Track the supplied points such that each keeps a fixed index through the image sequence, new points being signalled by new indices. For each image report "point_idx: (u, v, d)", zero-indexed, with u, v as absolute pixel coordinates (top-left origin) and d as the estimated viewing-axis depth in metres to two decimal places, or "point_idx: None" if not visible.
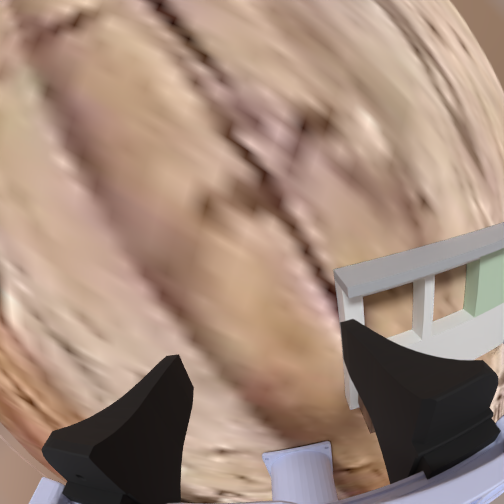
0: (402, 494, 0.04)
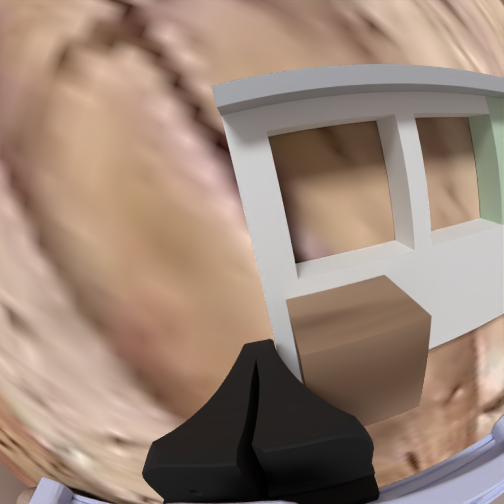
0: (402, 494, 0.04)
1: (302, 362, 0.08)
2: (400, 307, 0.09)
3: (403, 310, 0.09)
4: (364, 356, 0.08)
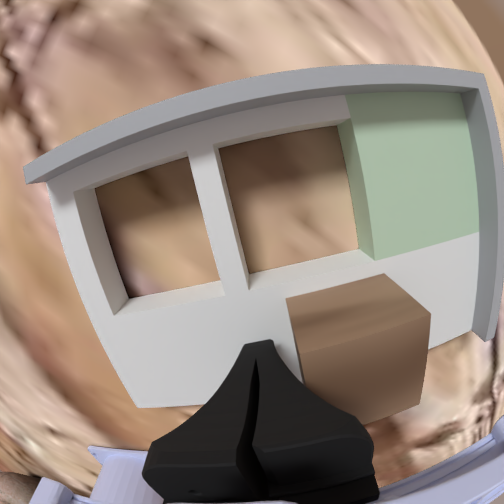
0: (402, 494, 0.04)
1: (302, 360, 0.08)
2: (400, 305, 0.09)
3: (403, 308, 0.09)
4: (364, 354, 0.08)
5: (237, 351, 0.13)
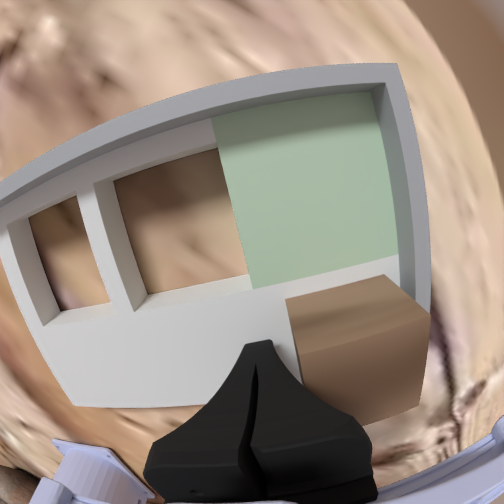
0: (402, 494, 0.04)
1: (301, 361, 0.08)
2: (399, 306, 0.09)
3: (402, 309, 0.09)
4: (363, 355, 0.08)
5: (136, 364, 0.13)
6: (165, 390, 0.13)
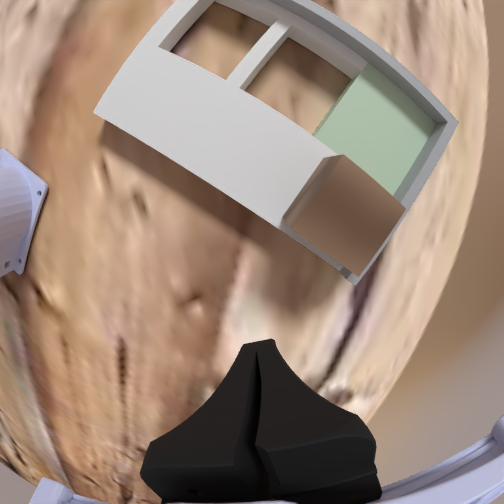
0: (402, 494, 0.04)
1: (340, 159, 0.13)
2: None
3: None
4: (366, 189, 0.13)
5: (196, 115, 0.16)
6: (191, 147, 0.17)
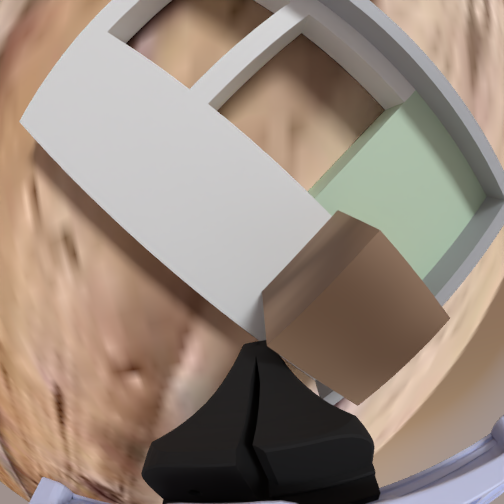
0: (402, 494, 0.04)
1: (373, 238, 0.07)
2: None
3: None
4: (403, 292, 0.08)
5: (138, 141, 0.10)
6: (126, 191, 0.11)
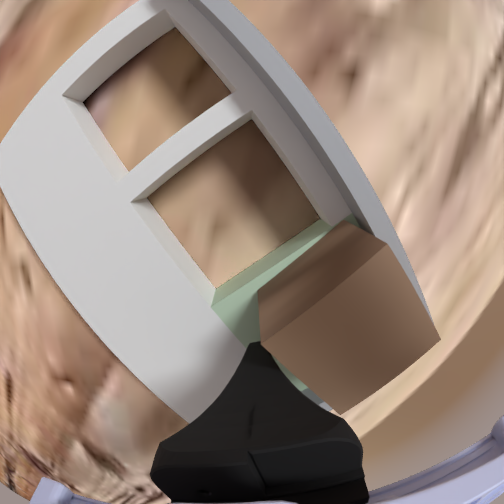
0: (402, 494, 0.04)
1: (380, 251, 0.07)
2: None
3: None
4: (400, 307, 0.08)
5: (73, 221, 0.11)
6: (62, 260, 0.11)
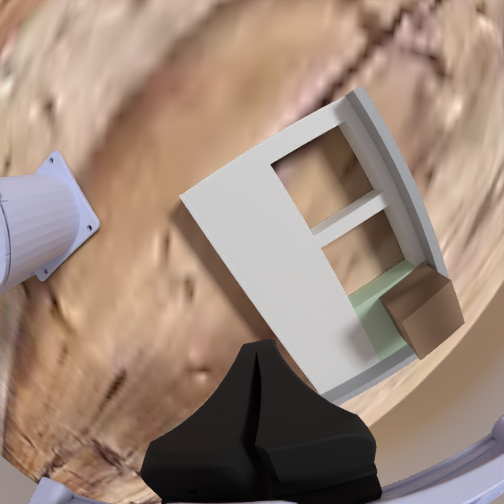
0: (402, 494, 0.04)
1: (447, 283, 0.16)
2: None
3: None
4: (451, 306, 0.16)
5: (275, 255, 0.19)
6: (259, 281, 0.20)
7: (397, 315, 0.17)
